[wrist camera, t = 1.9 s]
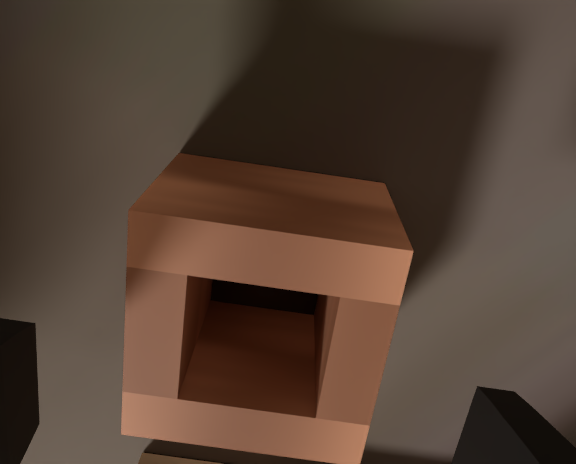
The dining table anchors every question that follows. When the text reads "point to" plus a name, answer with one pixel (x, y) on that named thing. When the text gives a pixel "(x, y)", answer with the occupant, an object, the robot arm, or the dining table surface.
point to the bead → (260, 321)
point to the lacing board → (168, 460)
